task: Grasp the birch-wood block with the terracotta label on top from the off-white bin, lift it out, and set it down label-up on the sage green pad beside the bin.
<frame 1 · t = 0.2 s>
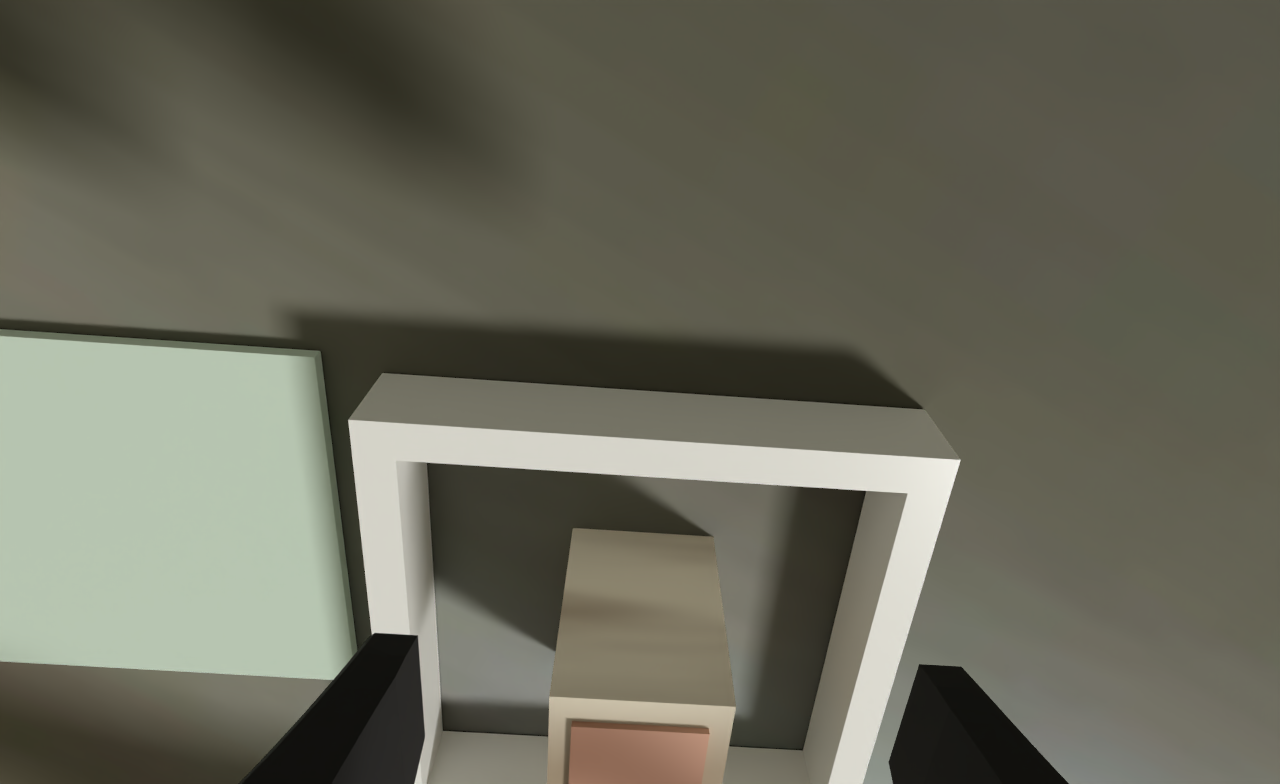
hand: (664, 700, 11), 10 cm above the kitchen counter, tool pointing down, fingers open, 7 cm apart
birch block: (636, 680, 20), in the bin
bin: (636, 601, 23), on the kitchen counter
pad: (145, 516, 21), on the kitchen counter
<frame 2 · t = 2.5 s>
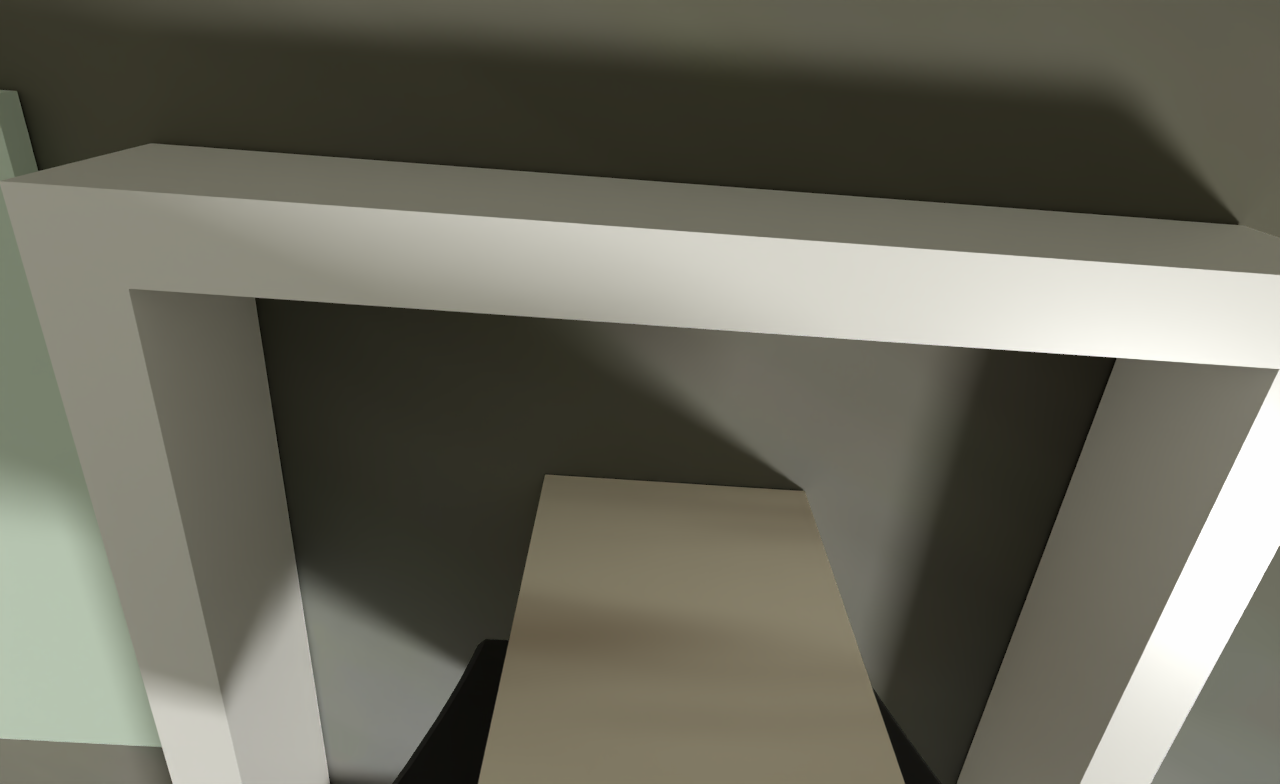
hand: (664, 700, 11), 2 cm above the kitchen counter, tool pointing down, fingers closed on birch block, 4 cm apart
birch block: (666, 770, 10), in the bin, touching gripper
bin: (661, 609, 13), on the kitchen counter
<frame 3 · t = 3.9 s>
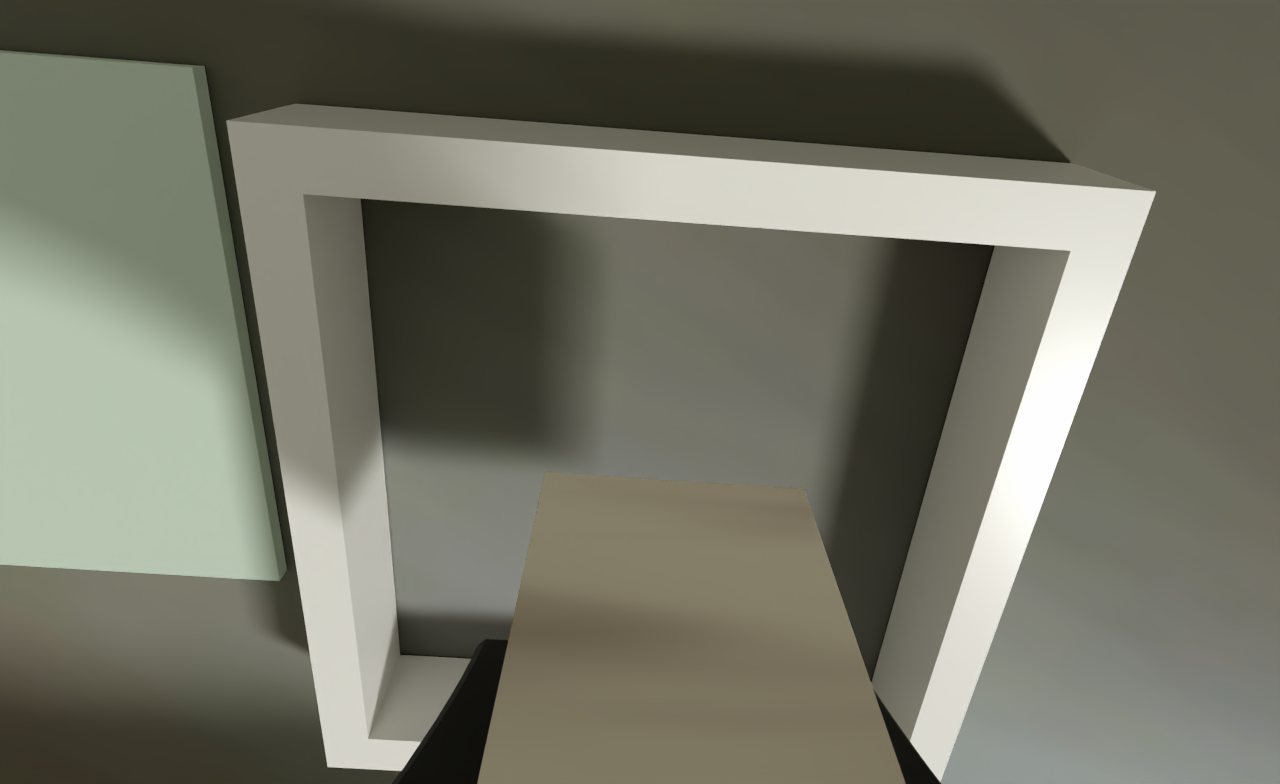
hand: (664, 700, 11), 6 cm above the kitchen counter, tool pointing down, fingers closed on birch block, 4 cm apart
birch block: (666, 767, 10), point 8 cm above the kitchen counter, touching gripper
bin: (657, 466, 17), on the kitchen counter
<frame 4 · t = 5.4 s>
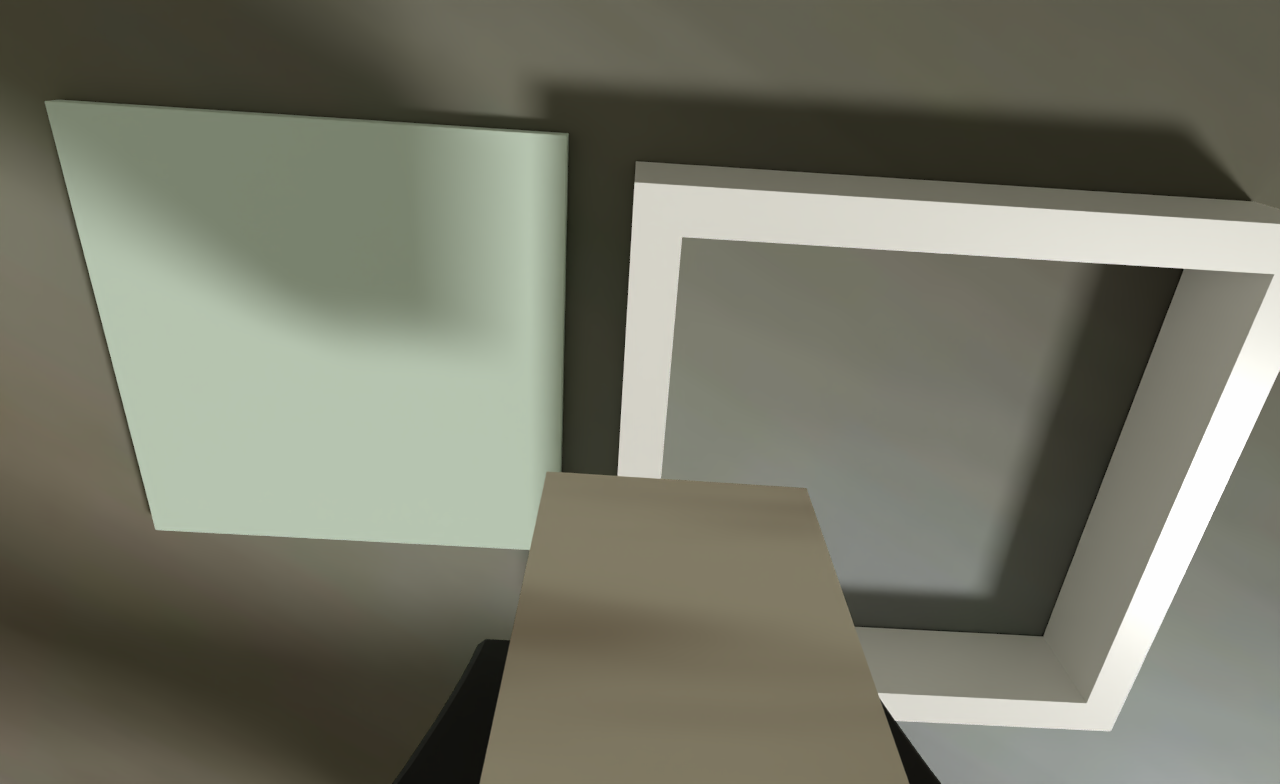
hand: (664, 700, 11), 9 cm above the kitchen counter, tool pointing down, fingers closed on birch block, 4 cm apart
birch block: (668, 767, 10), point 11 cm above the kitchen counter, touching gripper
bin: (884, 451, 20), on the kitchen counter
pad: (342, 350, 19), on the kitchen counter
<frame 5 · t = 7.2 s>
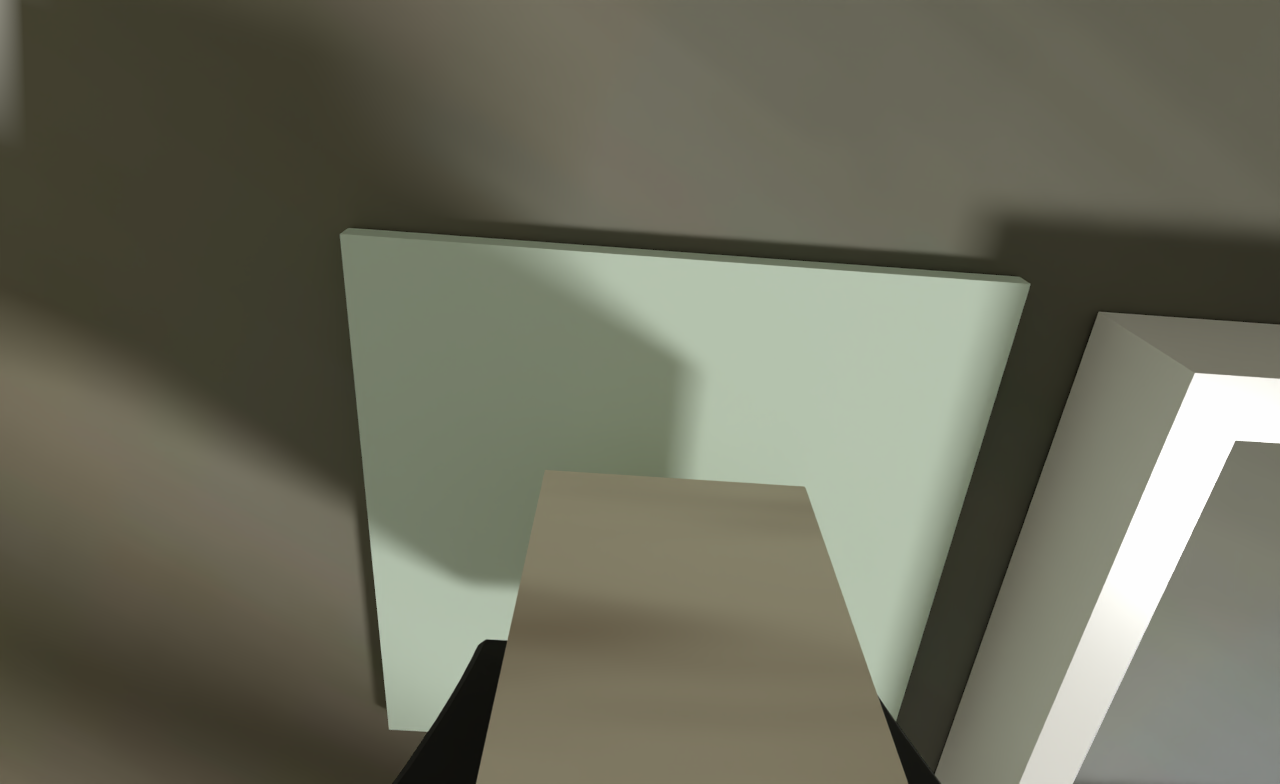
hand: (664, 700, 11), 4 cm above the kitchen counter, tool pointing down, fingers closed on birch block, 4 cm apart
birch block: (666, 766, 10), point 5 cm above the kitchen counter, touching gripper
pad: (659, 528, 15), on the kitchen counter
when the fingers open (3 cm above the kitchen counter, at t = 8.5 s): birch block drops 1 cm, resting on pad.
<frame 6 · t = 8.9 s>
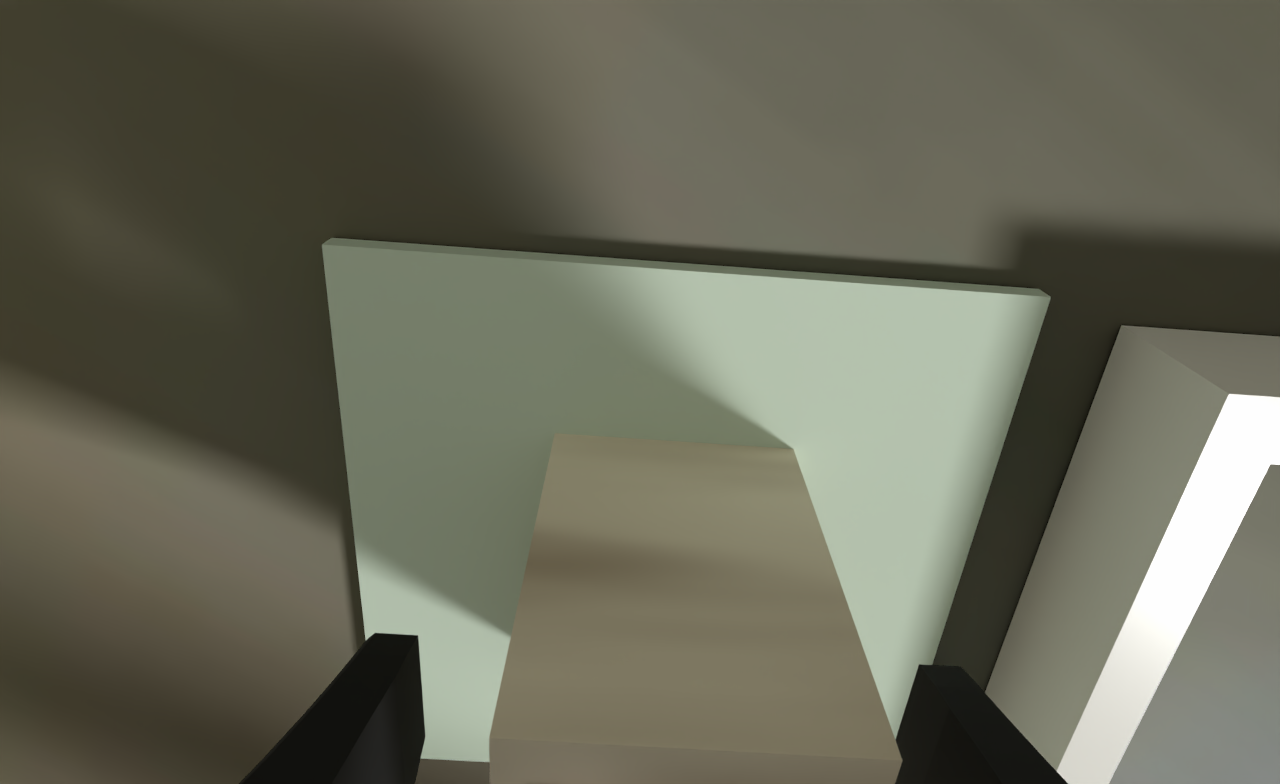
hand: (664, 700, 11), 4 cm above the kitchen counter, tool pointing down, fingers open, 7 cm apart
birch block: (666, 695, 11), on the pad
pad: (659, 550, 14), on the kitchen counter
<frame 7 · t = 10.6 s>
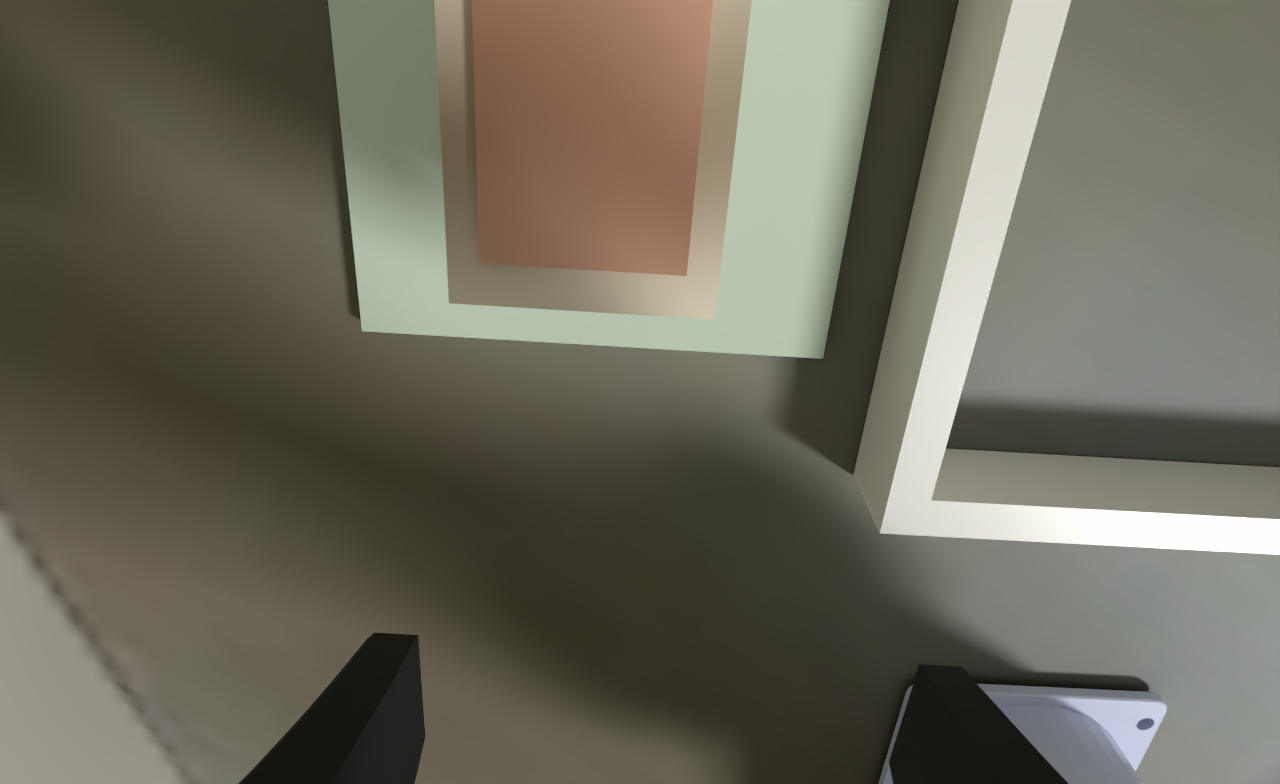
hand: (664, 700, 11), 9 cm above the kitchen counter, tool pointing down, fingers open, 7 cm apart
birch block: (598, 113, 13), on the pad
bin: (1214, 233, 17), on the kitchen counter
pad: (605, 97, 16), on the kitchen counter
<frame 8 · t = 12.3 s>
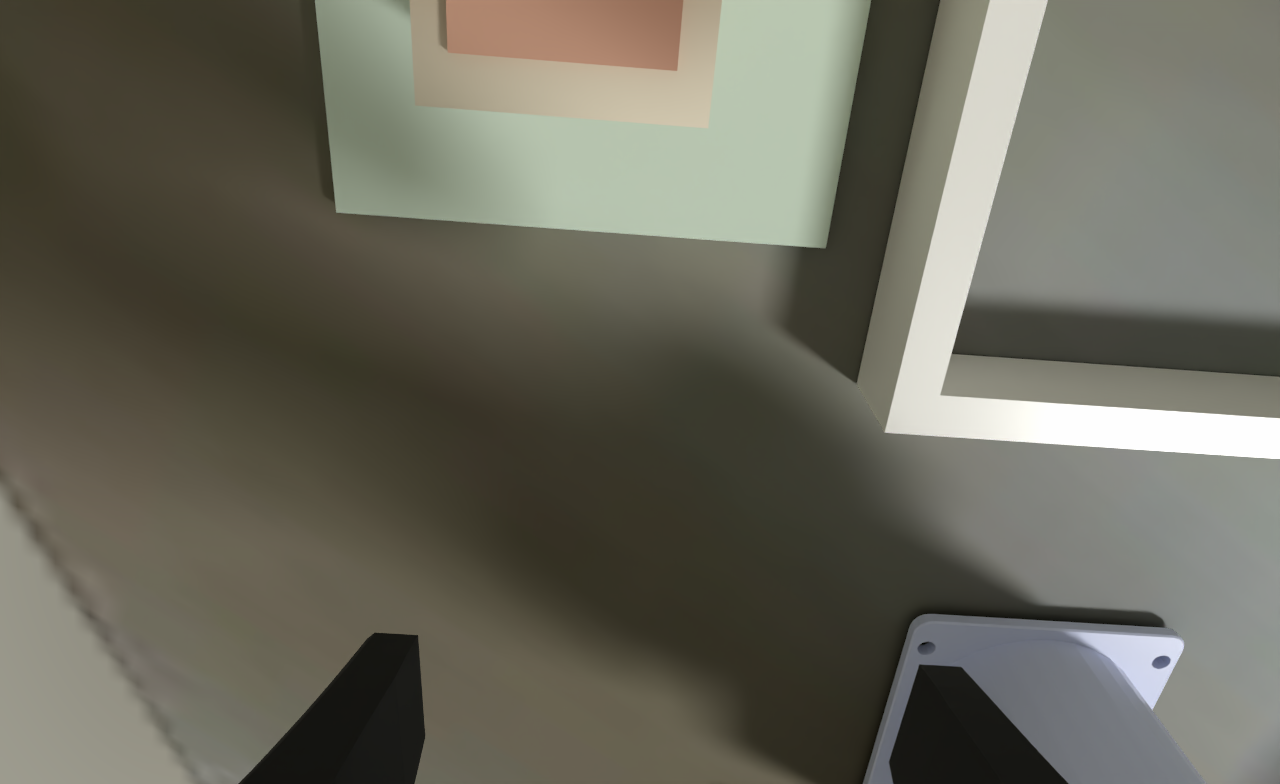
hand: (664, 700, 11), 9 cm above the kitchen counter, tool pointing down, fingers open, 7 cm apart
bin: (1243, 112, 16), on the kitchen counter
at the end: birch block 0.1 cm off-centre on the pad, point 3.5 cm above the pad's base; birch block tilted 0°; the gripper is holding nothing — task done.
